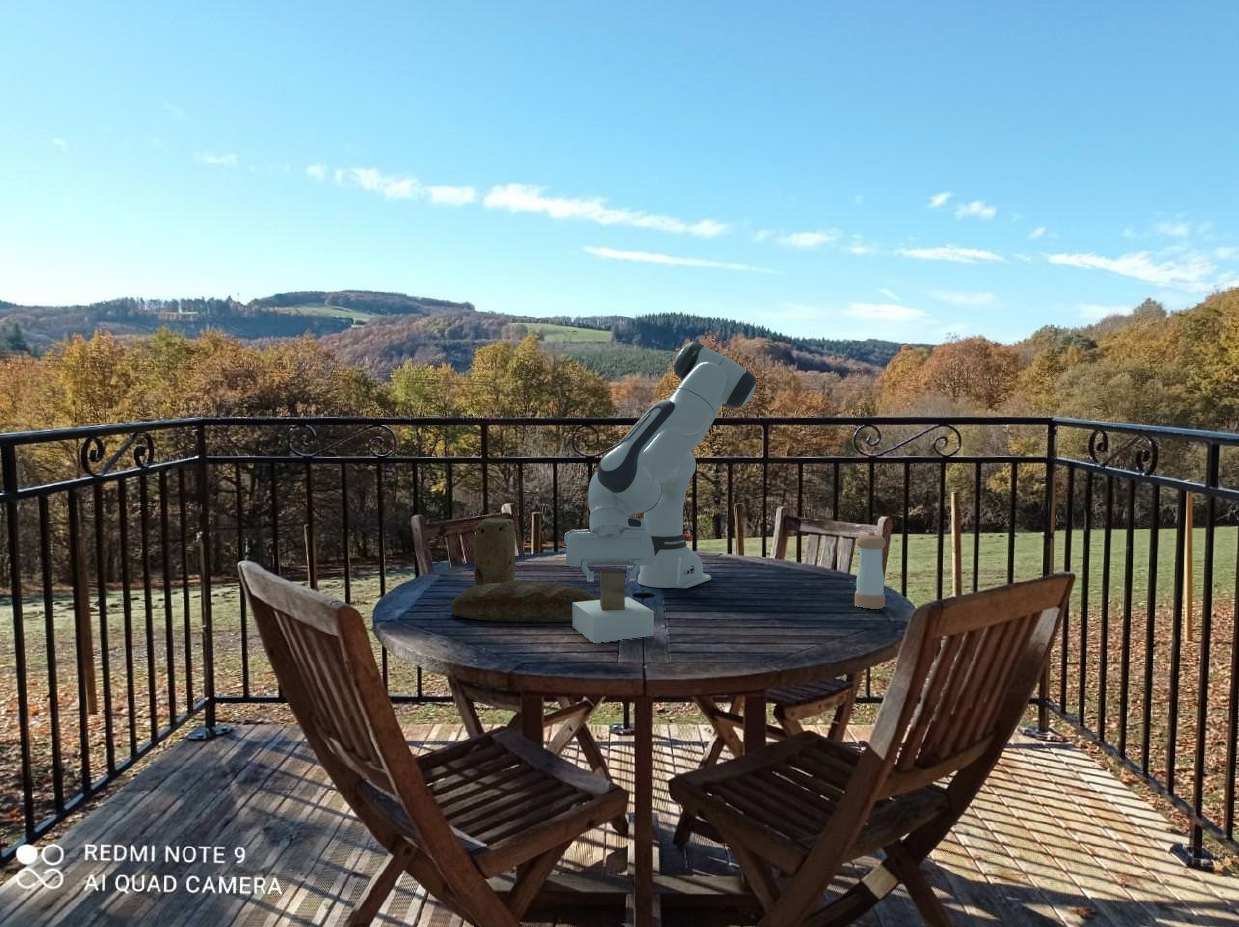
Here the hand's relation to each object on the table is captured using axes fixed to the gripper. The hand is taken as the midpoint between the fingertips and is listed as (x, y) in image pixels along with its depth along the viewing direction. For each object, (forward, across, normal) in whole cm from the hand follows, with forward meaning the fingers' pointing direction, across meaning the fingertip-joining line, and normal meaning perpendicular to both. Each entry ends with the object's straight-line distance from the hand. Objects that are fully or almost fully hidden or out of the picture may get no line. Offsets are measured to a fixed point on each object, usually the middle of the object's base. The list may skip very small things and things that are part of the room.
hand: (611, 580), depth 175 cm
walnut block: (+4, 0, +4) cm, 6 cm away
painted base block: (+8, 0, +9) cm, 12 cm away
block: (-20, -28, +37) cm, 50 cm away
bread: (-2, -19, +20) cm, 28 cm away
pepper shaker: (-4, +67, +20) cm, 70 cm away
